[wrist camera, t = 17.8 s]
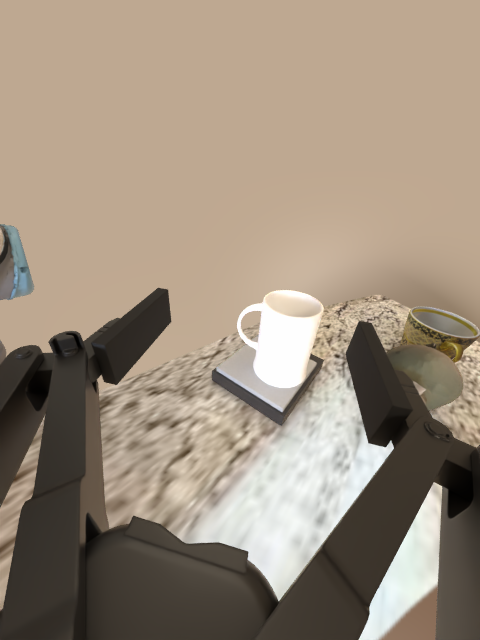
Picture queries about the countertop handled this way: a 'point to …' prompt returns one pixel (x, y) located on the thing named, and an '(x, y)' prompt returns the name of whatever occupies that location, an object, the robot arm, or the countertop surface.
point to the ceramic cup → (439, 331)
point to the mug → (284, 336)
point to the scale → (261, 384)
